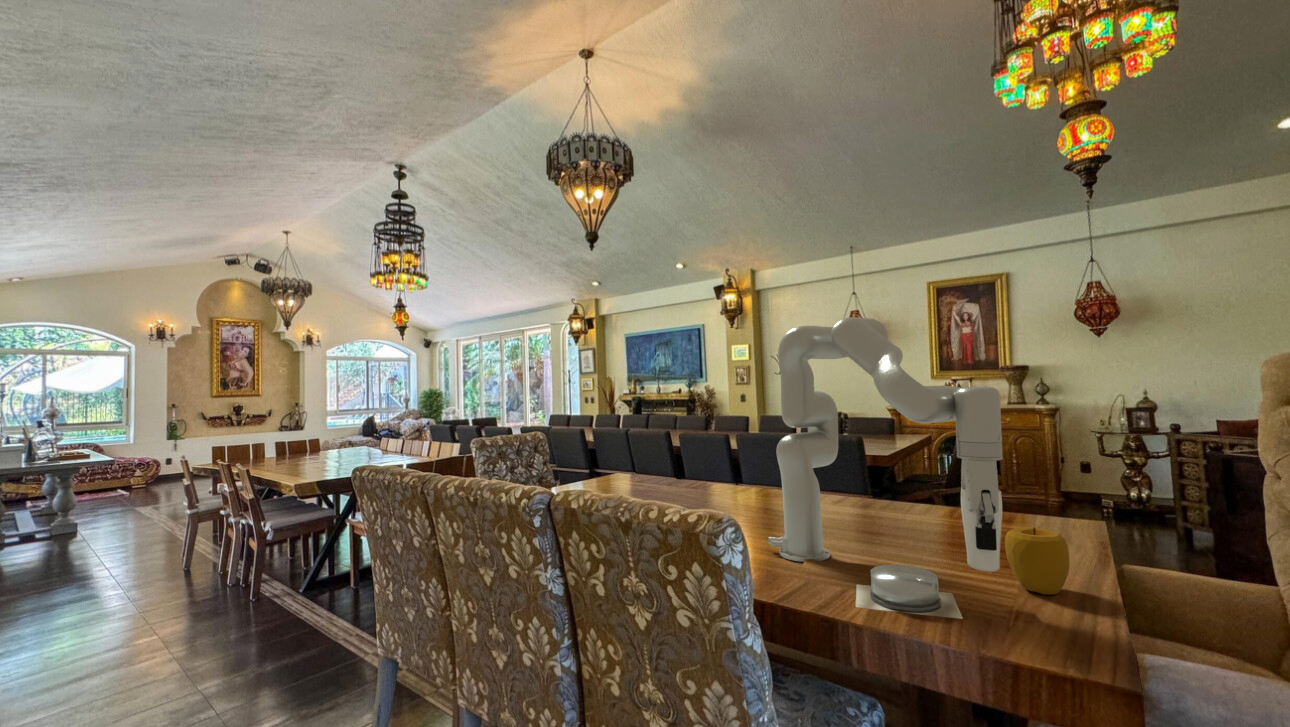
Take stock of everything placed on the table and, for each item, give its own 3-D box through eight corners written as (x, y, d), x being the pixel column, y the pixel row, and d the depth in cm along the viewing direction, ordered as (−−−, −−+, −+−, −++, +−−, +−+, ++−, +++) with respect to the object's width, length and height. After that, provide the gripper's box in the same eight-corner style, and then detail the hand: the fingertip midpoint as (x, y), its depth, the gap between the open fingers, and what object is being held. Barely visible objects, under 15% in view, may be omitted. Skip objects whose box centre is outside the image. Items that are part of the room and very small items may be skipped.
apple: (1003, 578, 118) (999, 519, 119) (1064, 584, 114) (1059, 522, 114) (1013, 596, 108) (1008, 531, 109) (1079, 603, 104) (1074, 535, 105)
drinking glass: (1005, 576, 99) (1002, 494, 99) (962, 570, 102) (959, 490, 103) (1004, 565, 105) (1000, 487, 105) (963, 559, 108) (960, 484, 109)
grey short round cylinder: (870, 608, 103) (869, 581, 103) (870, 585, 114) (868, 561, 115) (945, 616, 98) (943, 588, 98) (937, 591, 110) (935, 566, 110)
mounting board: (855, 612, 103) (855, 607, 103) (856, 589, 115) (856, 584, 115) (963, 624, 97) (962, 618, 97) (952, 598, 109) (952, 593, 109)
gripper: (950, 444, 114) (953, 530, 113) (964, 455, 98) (968, 556, 97) (991, 445, 111) (995, 533, 110) (1013, 457, 95) (1017, 560, 94)
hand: (982, 543), depth 104 cm, fingers closed on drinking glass, 6 cm apart
